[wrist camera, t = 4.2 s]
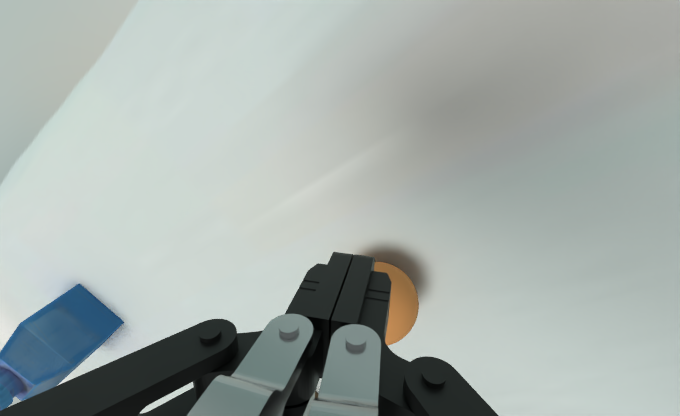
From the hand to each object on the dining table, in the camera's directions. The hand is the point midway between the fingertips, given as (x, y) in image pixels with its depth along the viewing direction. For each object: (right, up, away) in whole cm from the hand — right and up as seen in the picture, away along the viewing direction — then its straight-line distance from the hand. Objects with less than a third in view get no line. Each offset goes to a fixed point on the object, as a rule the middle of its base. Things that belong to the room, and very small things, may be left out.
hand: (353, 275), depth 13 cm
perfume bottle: (-28, -9, +27) cm, 40 cm away
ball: (+2, -4, +13) cm, 14 cm away
